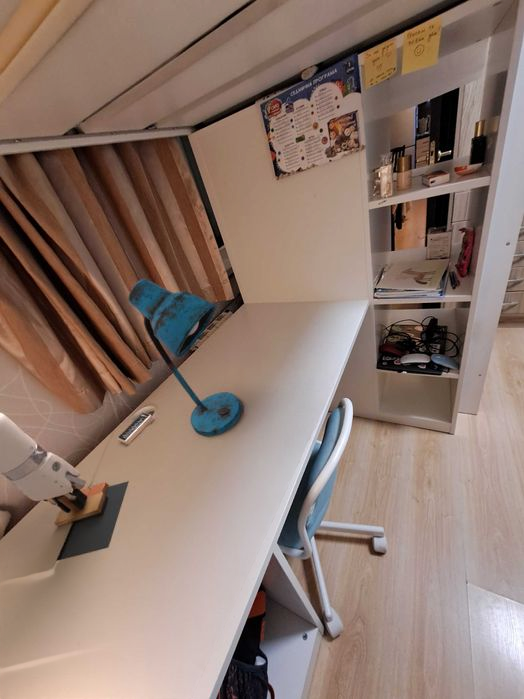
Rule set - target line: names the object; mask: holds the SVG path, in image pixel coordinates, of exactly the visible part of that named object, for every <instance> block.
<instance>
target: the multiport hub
mask: <svg viewBox="0 0 524 699" xmlns="http://www.w3.org/2000/svg"><path fill="white" fill-rule="evenodd" d="M154 421H155V418H154V417H153V416H152V415H151V414H150V413H147V412H141V413H140V414H139V415H138V416H137V417H136V418H135V419H134V420H133V422H131V423H130V424H129V425H128V427H126V428H125V429H124V430H123V431H122V432H121V433H120V434H119V435H118V436H117V439H118V441H119V442H120V443H123V444H124V445H126V446H128V445H130V444H131V443H132V442H133V441H134V439H136V437H137V436H138V435H139V434H140V433H141V432H142V431H143V430H144V429H146V428H147V427H148V426H150V425H151V424H152V423H153V422H154Z"/></svg>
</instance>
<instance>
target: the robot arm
mask: <svg viewBox="0 0 524 699" xmlns="http://www.w3.org/2000/svg"><path fill="white" fill-rule="evenodd" d="M0 474H1V475H2V477H4V478H6V479H7V480H8V481H9V482H10V483H11V484H12V485H13V487H15V488H16V489H17V490H18V491H19V492H21V494H23V495H24V496H26V497H27V498H28V499H30V500H32V501H34V502H41V501H43V502H48V503H49V504H51V505H52V506H56V507H58V508H59V509H62V510H63V511H65V512H66V513H70V512H71V510H70V509H69V508H68V507H67V506H65V505H64V504H63V503H61V502H60V501H59V500H58V499H57V498H56V497H57V496H61V495H65V496H66V497H68V498H69V499H70V500H71V501H70V502H71V503H72V504H73V505H74V506H76V507H77V508H78V509H80V510H81V509H83V508H84V505H85V503H86V501H87V496H86V495H85V494H84V493H83V492H81V491H80V490H83V489H84V488H85V485H86V483H87V481H86V480H84V479H81V478H80V476H81V472H79V470H78V469H76V468H75V467H74V466H73V465H72V464H70V463H69V462H67V461H66V460H65V459H63V458H62V457H60V456H58V455H56V454H55V453H52V452H49V451H46V450H45V448H43V447H42V446H41V445H39V444H38V443H37V442H36V440H34V439H33V438H32V437H30V435H28V434H27V433H26V432H25V431H24V430H23V429H22V428H20V427H19V426H18V425H17V424H16V423H15V422H14V421H13V420H12V419H10V418H9V417H8V416H7V415H6V414H4V413H2V412H0ZM71 492H72V493H71Z"/></svg>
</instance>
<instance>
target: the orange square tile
mask: <svg viewBox="0 0 524 699" xmlns="http://www.w3.org/2000/svg"><path fill="white" fill-rule="evenodd" d="M108 487H109V484H108V483H107V481H105V482H101V483H96V484H92V485H91V490H90V492H89V494H88V496H87V497H90V496H93V495H96V494H99V493H104V494H105V493H106V490H107V488H108Z"/></svg>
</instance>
